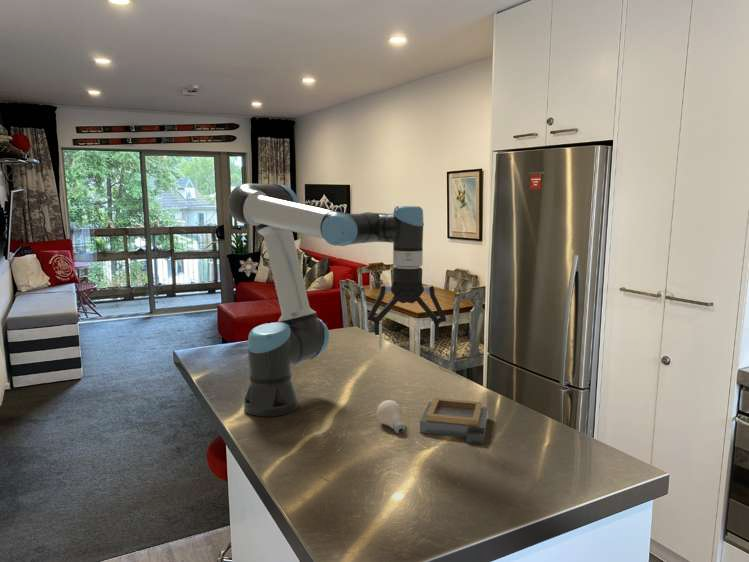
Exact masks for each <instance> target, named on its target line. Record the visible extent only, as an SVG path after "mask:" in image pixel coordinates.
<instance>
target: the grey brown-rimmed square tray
mask: <svg viewBox="0 0 749 562" xmlns="http://www.w3.org/2000/svg"><path fill="white" fill-rule="evenodd" d="M488 419H489V407H486V406H483V402H482V401H473V400H461V399H451V398H439V397H434V398H433V400H432V401H429V402H428V404H427V405H426V408H425V410H424V412H423V414H422V416H421V418H420V421H419V433H420V434H421V433H422V434H423V433H424V434H430V435H442V436H449V437H457V438H465V443H466V444H476V445H484V439H485V436H486V435H485V434H486V430H487V429H486V428H487V424H488Z"/></svg>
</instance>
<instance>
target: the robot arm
mask: <svg viewBox="0 0 749 562" xmlns="http://www.w3.org/2000/svg"><path fill="white" fill-rule="evenodd" d="M227 210H228V212H229V214H230V216H231V218H233V219H234V220H235V221H237V222H238V223H240V224H245V225H250V226H255V227H256V231H257V234H259V235H261V236H263V239H264V243H265V247H266V251H267V256H268V261H269V265H270V268H271V273H272V278H273V282H274V286H275V291H276V295H277V299H278V303H279V309H280V311H281V315H280V316H279V319H278V321H276V322H270V323H267V322H266V323H262V324H260V325H257V326H255V327H253V328H252V329H251V330H250V331H249V333H248V339H247V340H248V341H247V349H248V350H247V351H248V353H247V354H248V370H249V371H248V372H249V373H248V375H249V376H248V377H249V378H248V379H249V381H248V386H247V389H246V393H245V397H244V400H243V410H244V412H245V413H247V414H248V415H251V416H255V417H260V418H261V417H269V418H270V417H278V416H279V417H280V416H284V415H288V414H290V413H293V412H294V411H296V410H297V409H298V407H299V398H298V394H297V392H296V388H295V386H294V384H293V380H292V366H294V365H297V364H299V363H303V362H305V361H309V360H313V359H315V358H316V357H318V356H320V355H322V354H323V353H324V352H325V351H326V349H327V348H328V345H329V342H330V331H329V329H328V326H327V324H326V323H324V321H323V320H322V319H320V318H318V316H317V315H318V314H317V311H315V310H314V309H312V308H311V307H310V302H309V299H308V293H307V289H306V286H305V282H304V281H305V280H304V277H303V271H302V268H301V265H300V264H301V263H300V260H299V255H298V250H297V246H296V242H295V239H294V233H298V234H301V235H305V236H311V237H314V238H317V239H321V240H325V242H326V243H328V244H329V245H331V246H338V247H346V246H349V245H357V244H366V243H368V244H370V243H392V245H393V248H392V250H393V251H392V259H393V260H392V265H393V266H394V267H393V268H392V284H391V285H385V284H384V283H383V284H381V285H380V292H379V294H378V295H377V298H376V299H375V302H374V304H373V305H372V307H371V309H370V311H369V313H368V315H367V321H370V322H373V323H374V335H375V336H378V348H379V349H382V345H383V344H382V342H383V341H382V340H383V337H382V336H383V322H382V319H384V318H385V316H386V315H387V314H388V313H389V311H391V309H392V308H393V307H394V306H395V305H397V304H398V302H399V303H401V304H407V303H409V304H414V303H416V302H417V304H418V305H420V307H421V308H422V309H423V310H424V312H425V313H426V314H427V315H428V317H429V318H430V319H431V320H432V321H431V322H430V337H429V338H430V343H429V344H430V349H431V350H435V337H436V336H437V337H438V336H439V335H440V334H439V332H440V324H441V323H443V322H447V318H446V317H447V316H446V315H445V314H444V311H443V309H442V307H441V305H440V303H439V301H438V299H437V297H436V293H435V287H434V285H433V284H429V285H428V286H427V285H426V286H423V269H422V266H423V257H424V256H423V251H424V250H423V249H424V248H423V243H424V242H423V239H424V226H425V223H424V210H423V208H422V207H421V206H416V205H413V206H412V205H410V206H409V205H408V206H407V205H399V206H396V205H395V206H394V208H393V212H392V213H382V212H380V213H379V212H370V211H369V212H359V213H346V212H341V211H337V210H336V211H335V210H331V209H326V208H322V207H317V206H312V205H308V204H303V203H300V202H299V198H298V197H297V195H296V193H295V192H294V190H292V189H291V188H290V187H288V186H287V185H284V184H278V183H250V182H249V183H243V184H240V185H237V186H236V187H235V188H233V189H232V190H231V192H230V193H229V196H228V197H227ZM293 232H294V233H293ZM390 291H391V293H392V294H393V296H392V297H391V299H390V300H389V301H388V303H387V304H386V305H385V306H384V307H383V308H382V310H380V312H379V313H378V314H377V315H376V313H377V311H378V309H379V308H380V306H381V303H382V301H383V299H384V297H385V295H388V293H389V292H390ZM424 292H426V294H427V295H429V297H430V299H431V300H432V303H433V305H434V307H435V309H436V311H437V314H438V316H436V314H435V313H434V312H433V311H432V309H431V308H430V307H429V306H428V305H427V304H426V302H425V301H424V300H423V299H422V297H421V295H422V294H423V293H424ZM375 315H376V316H375Z"/></svg>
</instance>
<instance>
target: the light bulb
mask: <svg viewBox="0 0 749 562" xmlns="http://www.w3.org/2000/svg"><path fill="white" fill-rule="evenodd" d="M402 413H403V411H402V408H401V406H400V404H399V403H398V402H396V401H395V400H391V399H388V400H384V401H382V402H380V403H379V405H378V407H377V409H376V415H377V418H378V421H380V423H381V424H383V425H384V426H388V427H390V428H391V429H393V431H394V432H395V433H396V434H398V435H399V434H403V433H404V431H405V430H406V426H405V425H404V422H403V419H402Z"/></svg>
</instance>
